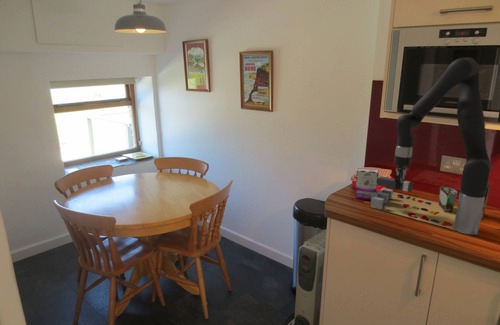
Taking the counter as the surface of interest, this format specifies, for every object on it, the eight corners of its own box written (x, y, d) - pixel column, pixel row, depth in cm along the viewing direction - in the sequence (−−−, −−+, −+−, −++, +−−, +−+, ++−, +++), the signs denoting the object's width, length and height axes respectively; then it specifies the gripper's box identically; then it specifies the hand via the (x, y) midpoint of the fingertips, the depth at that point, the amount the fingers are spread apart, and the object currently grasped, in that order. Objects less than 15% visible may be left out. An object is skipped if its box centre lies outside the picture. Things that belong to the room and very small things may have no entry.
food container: (459, 214, 167) (462, 195, 164) (445, 213, 168) (448, 194, 165) (450, 204, 178) (453, 186, 175) (437, 203, 179) (440, 186, 177)
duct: (391, 198, 187) (393, 188, 185) (381, 209, 172) (382, 198, 171) (381, 195, 190) (382, 186, 189) (369, 206, 176) (370, 196, 174)
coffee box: (481, 219, 161) (488, 188, 156) (466, 215, 165) (472, 185, 160) (484, 213, 167) (490, 183, 163) (469, 210, 171) (475, 180, 167)
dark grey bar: (412, 189, 168) (413, 182, 167) (410, 192, 165) (411, 184, 164) (379, 183, 177) (380, 175, 176) (377, 185, 174) (378, 177, 173)
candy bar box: (376, 198, 187) (379, 169, 183) (375, 201, 183) (378, 172, 179) (355, 195, 192) (358, 167, 187) (354, 198, 187) (357, 170, 183)
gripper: (407, 159, 157) (403, 193, 162) (414, 153, 168) (410, 185, 173) (391, 156, 162) (387, 190, 166) (399, 150, 173) (394, 182, 177)
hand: (398, 187), depth 170 cm, fingers closed on dark grey bar, 4 cm apart
